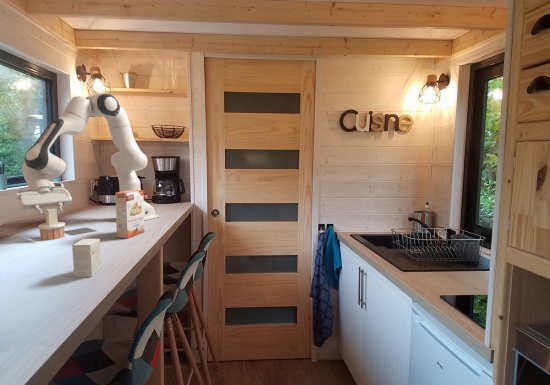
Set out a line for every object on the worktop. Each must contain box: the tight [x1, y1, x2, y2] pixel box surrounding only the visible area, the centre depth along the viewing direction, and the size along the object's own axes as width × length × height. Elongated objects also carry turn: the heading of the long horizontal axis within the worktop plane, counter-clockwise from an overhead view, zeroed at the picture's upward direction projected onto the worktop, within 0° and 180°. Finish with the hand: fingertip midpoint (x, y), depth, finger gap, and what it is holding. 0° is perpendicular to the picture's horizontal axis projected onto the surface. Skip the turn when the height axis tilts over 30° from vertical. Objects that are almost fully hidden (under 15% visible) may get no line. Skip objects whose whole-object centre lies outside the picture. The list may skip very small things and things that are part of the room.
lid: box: [38, 208, 66, 230], centre depth 159 cm, size 10×10×8 cm
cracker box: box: [115, 189, 145, 239], centre depth 167 cm, size 14×6×21 cm, turn 168°
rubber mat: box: [64, 227, 98, 236], centre depth 172 cm, size 12×12×1 cm
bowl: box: [39, 227, 66, 241], centre depth 160 cm, size 9×9×5 cm
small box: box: [71, 238, 102, 278], centre depth 116 cm, size 8×6×10 cm
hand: (51, 213), depth 158 cm, fingers open, 6 cm apart
